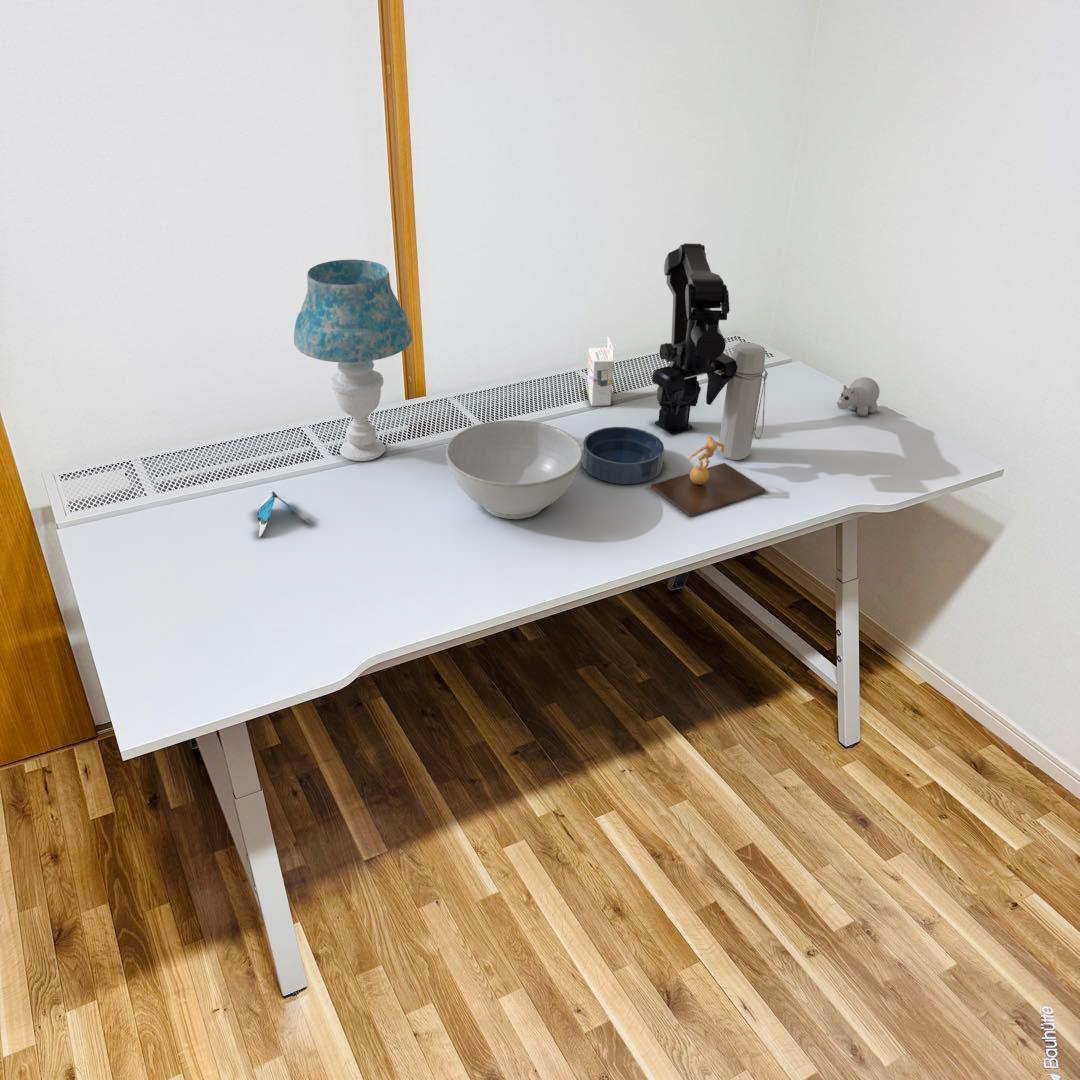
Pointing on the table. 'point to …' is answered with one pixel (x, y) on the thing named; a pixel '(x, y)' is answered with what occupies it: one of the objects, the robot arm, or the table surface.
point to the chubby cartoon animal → (860, 396)
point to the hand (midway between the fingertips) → (691, 408)
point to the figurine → (700, 473)
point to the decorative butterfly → (268, 510)
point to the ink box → (600, 375)
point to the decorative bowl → (514, 465)
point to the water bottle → (743, 401)
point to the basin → (622, 455)
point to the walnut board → (707, 490)
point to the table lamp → (353, 339)
